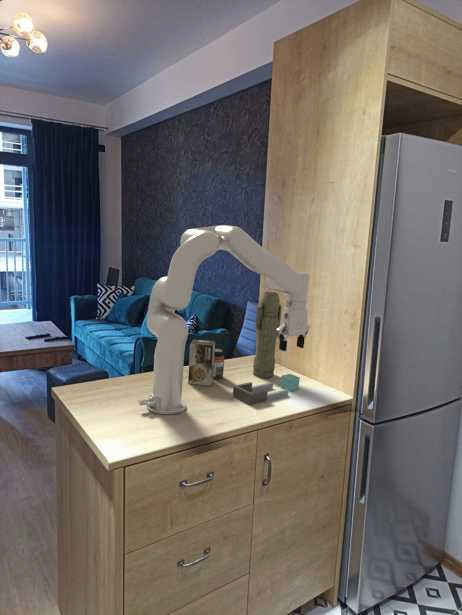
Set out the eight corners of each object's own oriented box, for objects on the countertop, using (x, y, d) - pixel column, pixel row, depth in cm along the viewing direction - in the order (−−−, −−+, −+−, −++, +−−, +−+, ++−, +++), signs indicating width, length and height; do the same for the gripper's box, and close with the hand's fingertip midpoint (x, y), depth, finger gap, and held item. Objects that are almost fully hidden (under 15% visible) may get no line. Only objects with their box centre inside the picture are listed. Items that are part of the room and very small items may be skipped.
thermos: (280, 375, 191) (289, 293, 184) (261, 380, 183) (269, 295, 176) (265, 369, 197) (273, 290, 191) (245, 373, 189) (253, 291, 183)
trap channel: (249, 405, 156) (250, 394, 156) (232, 396, 163) (233, 385, 163) (287, 395, 169) (289, 385, 168) (270, 387, 176) (271, 377, 175)
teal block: (289, 392, 172) (290, 379, 172) (280, 387, 176) (281, 375, 175) (298, 389, 176) (299, 377, 175) (289, 385, 179) (290, 373, 179)
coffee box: (213, 380, 178) (216, 341, 175) (210, 386, 172) (213, 345, 169) (190, 378, 179) (193, 338, 176) (187, 383, 172) (189, 342, 169)
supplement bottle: (206, 374, 184) (208, 347, 182) (220, 374, 186) (222, 347, 184) (210, 379, 179) (212, 352, 177) (224, 379, 181) (226, 352, 178)
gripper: (287, 308, 161) (282, 354, 164) (318, 305, 172) (313, 348, 175) (272, 304, 166) (268, 348, 169) (303, 301, 177) (299, 343, 180)
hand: (291, 348), depth 172 cm, fingers open, 9 cm apart
